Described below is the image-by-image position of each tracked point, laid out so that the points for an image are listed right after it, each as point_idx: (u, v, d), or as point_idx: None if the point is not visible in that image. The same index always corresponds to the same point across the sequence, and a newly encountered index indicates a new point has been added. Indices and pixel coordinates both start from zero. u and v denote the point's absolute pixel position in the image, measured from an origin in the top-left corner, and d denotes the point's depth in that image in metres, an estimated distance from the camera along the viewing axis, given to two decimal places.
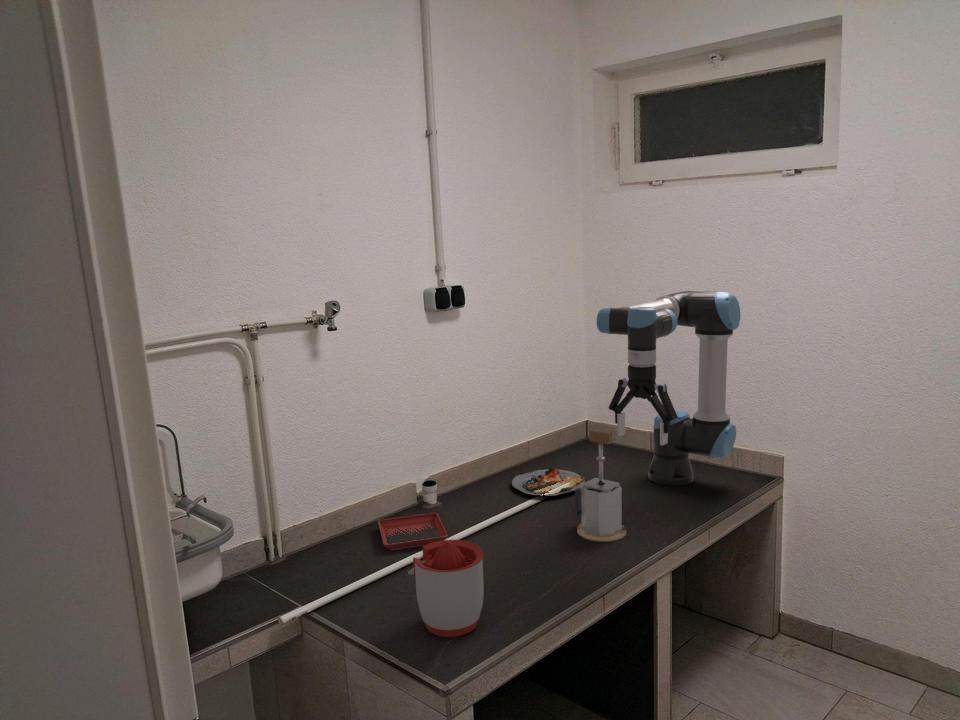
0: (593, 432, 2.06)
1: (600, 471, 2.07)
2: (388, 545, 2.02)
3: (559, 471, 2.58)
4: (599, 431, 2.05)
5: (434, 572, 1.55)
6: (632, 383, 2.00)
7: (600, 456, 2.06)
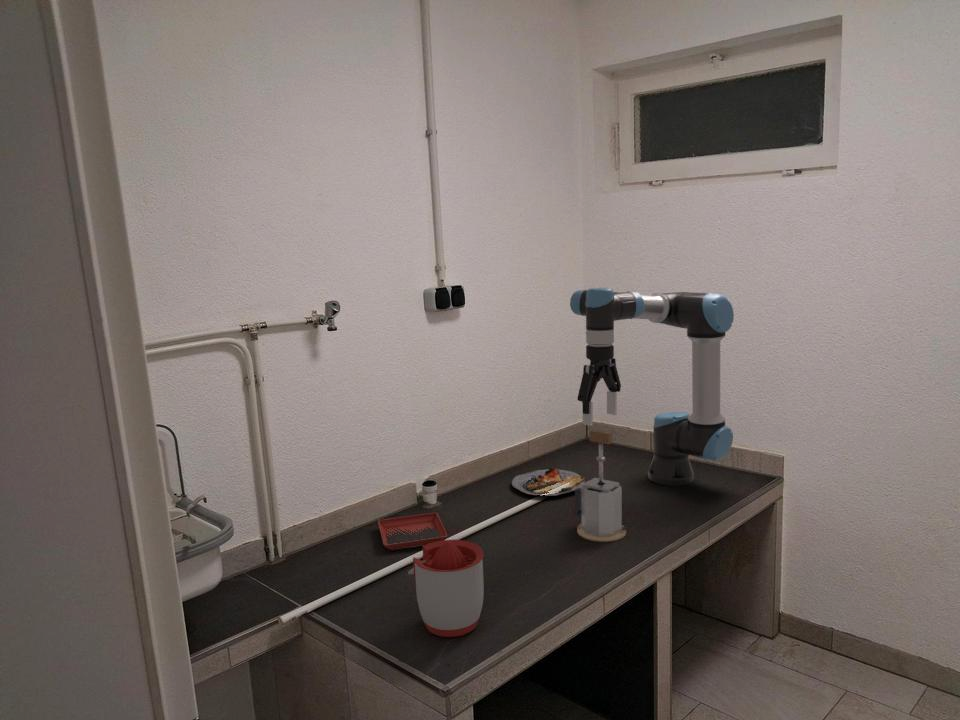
0: (593, 432, 2.06)
1: (600, 471, 2.07)
2: (388, 545, 2.02)
3: (559, 471, 2.58)
4: (599, 431, 2.05)
5: (434, 572, 1.55)
6: None
7: (600, 456, 2.06)
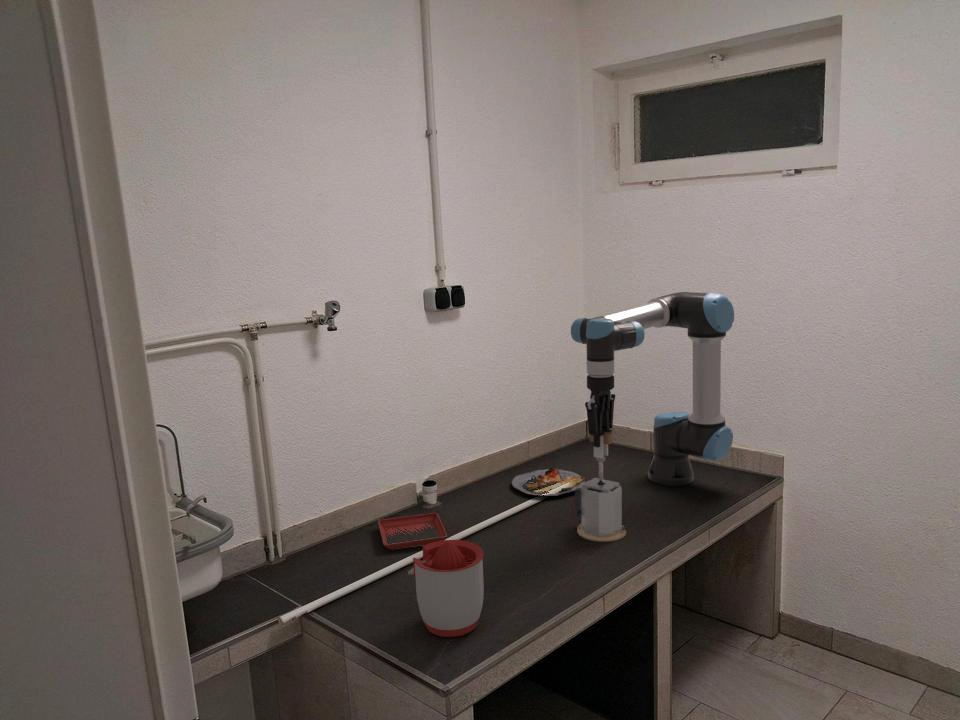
0: None
1: (600, 471, 2.07)
2: (388, 545, 2.02)
3: (559, 471, 2.58)
4: None
5: (434, 572, 1.55)
6: None
7: None
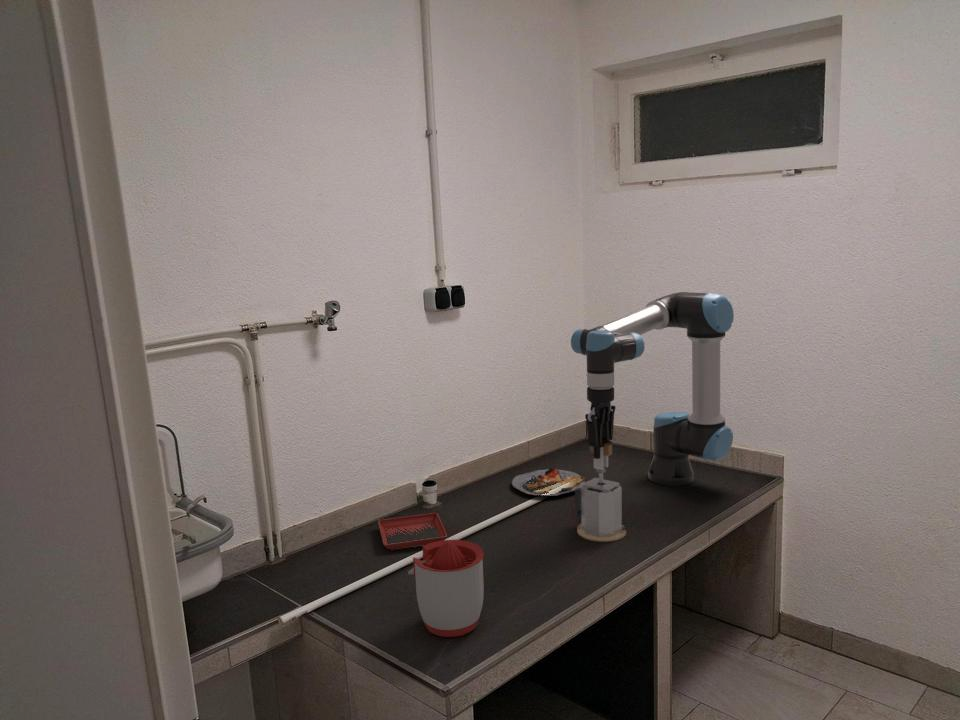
0: None
1: (600, 482, 2.08)
2: (388, 545, 2.02)
3: (559, 471, 2.58)
4: None
5: (434, 572, 1.55)
6: None
7: None
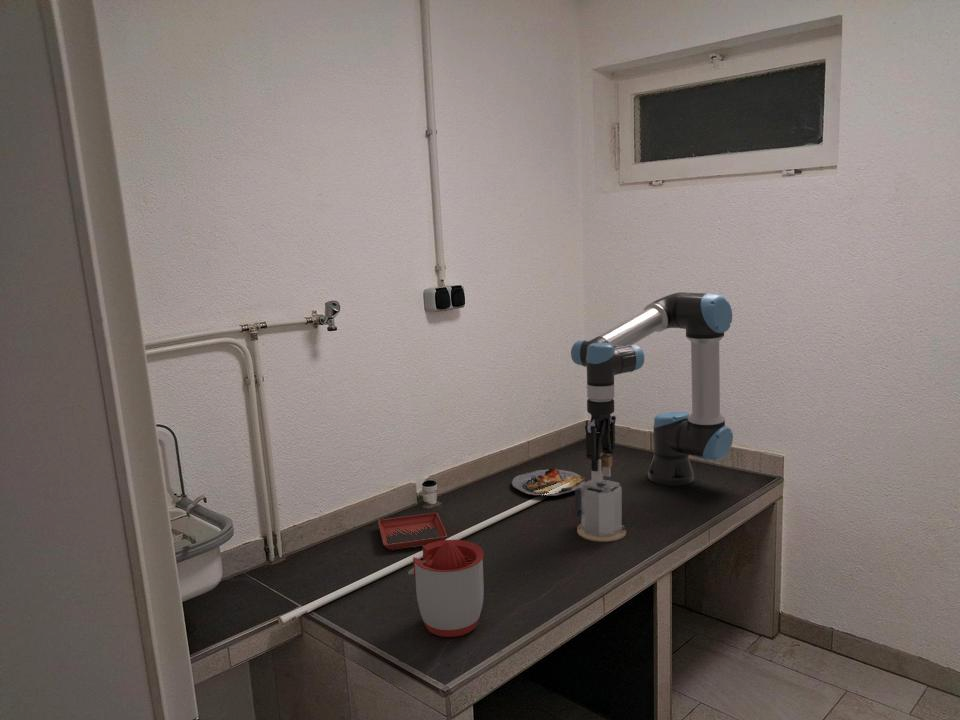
0: None
1: None
2: (388, 545, 2.02)
3: (559, 471, 2.58)
4: None
5: (434, 572, 1.55)
6: None
7: None
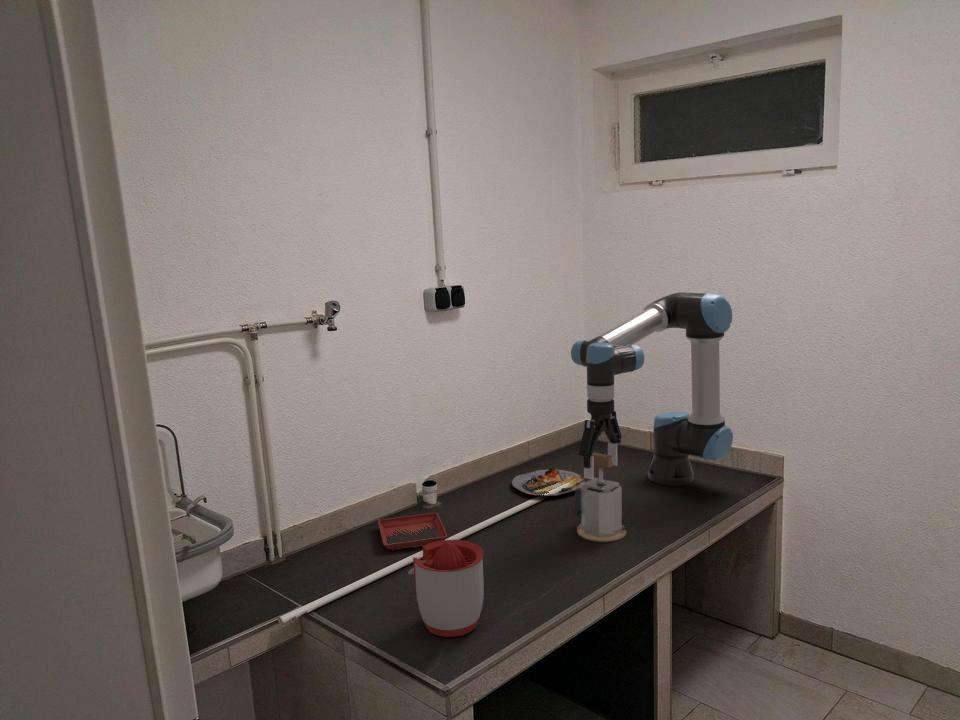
0: (593, 455, 2.07)
1: None
2: (388, 545, 2.02)
3: (559, 471, 2.58)
4: (599, 454, 2.07)
5: (434, 572, 1.55)
6: None
7: (600, 479, 2.07)
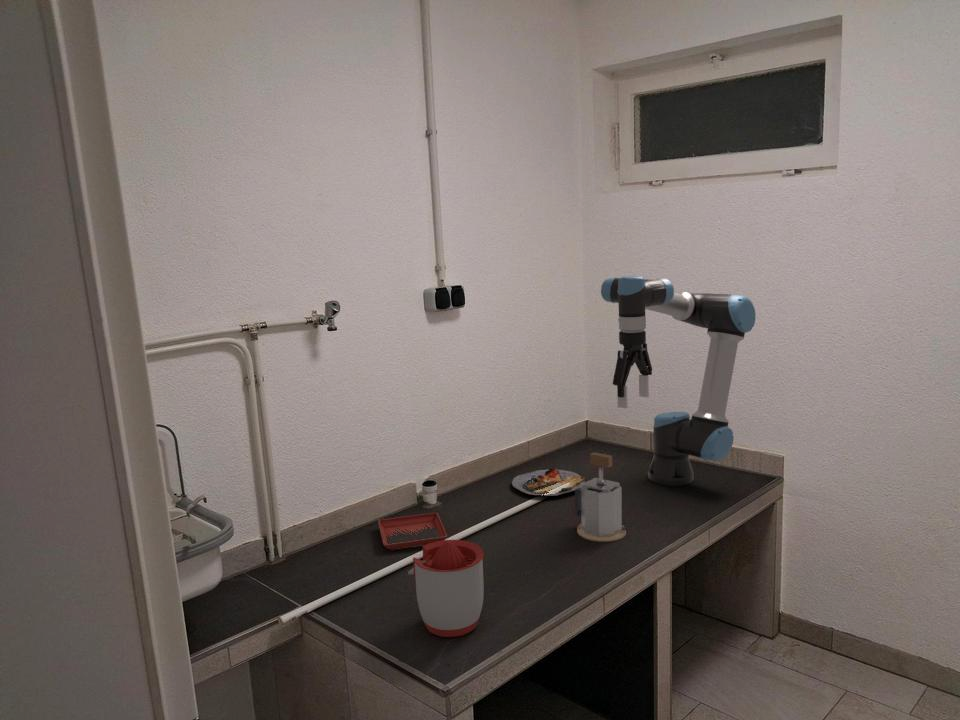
0: (593, 455, 2.07)
1: None
2: (388, 545, 2.02)
3: (559, 471, 2.58)
4: (599, 454, 2.07)
5: (434, 572, 1.55)
6: None
7: (600, 479, 2.07)
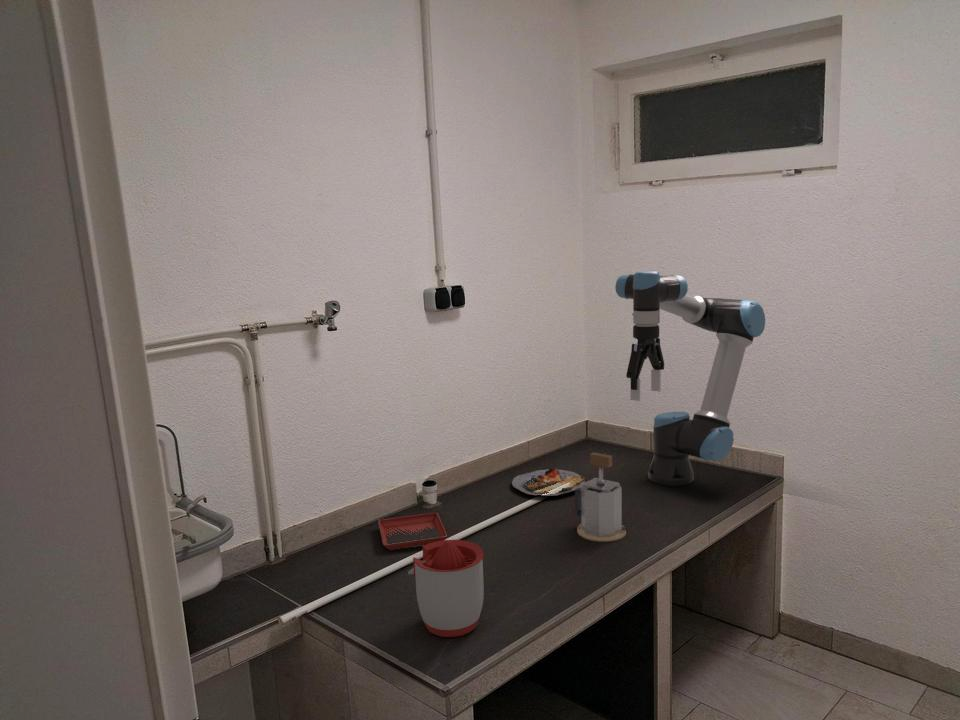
0: (593, 455, 2.07)
1: None
2: (388, 545, 2.02)
3: (559, 471, 2.58)
4: (599, 454, 2.07)
5: (434, 572, 1.55)
6: None
7: (600, 479, 2.07)
